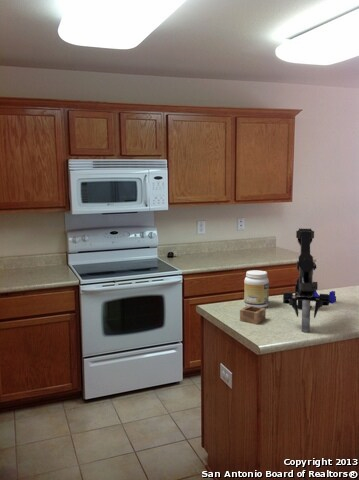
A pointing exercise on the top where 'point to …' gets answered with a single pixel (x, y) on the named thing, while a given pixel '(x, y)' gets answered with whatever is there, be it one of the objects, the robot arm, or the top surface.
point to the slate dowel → (306, 316)
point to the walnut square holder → (252, 314)
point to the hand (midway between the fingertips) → (306, 317)
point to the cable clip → (332, 296)
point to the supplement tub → (256, 289)
